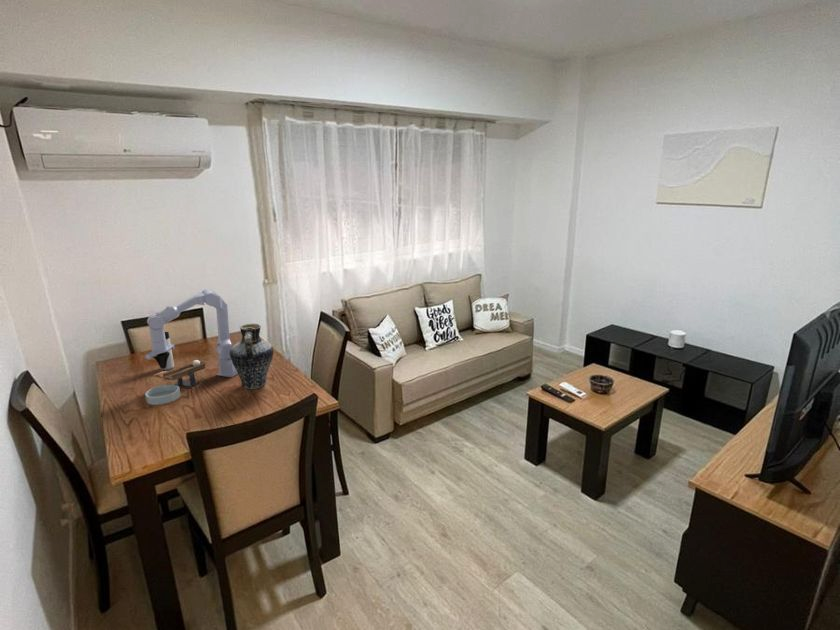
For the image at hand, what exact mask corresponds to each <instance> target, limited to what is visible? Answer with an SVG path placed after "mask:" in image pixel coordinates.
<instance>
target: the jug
mask: <svg viewBox="0 0 840 630" xmlns="http://www.w3.org/2000/svg"><path fill="white" fill-rule="evenodd" d="M261 327H262V326H261V325H260V324H258V323H247V324H243V325H241V326H239V331H240V333H241V340H240V341H239V342H237V343H235V344H234V345H233V346H232V348H231V349H230V357H231V360H232V363H233V365H234V367H235V369H236V370H237V372H238V374H237V375H238V376H239V380H240V382H241V386H242V388H244V389H247V390H256V389H259V388H262V387H263V386H265V385H266V382H267V375H268V372H269V369H270V365H271V364H272V361H273V358H274V357H273V356H274V347H273V345H272V343H270V342H268V341H266V340H263V339H261V336H260V333H261Z"/></svg>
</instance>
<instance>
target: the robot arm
mask: <svg viewBox="0 0 840 630" xmlns="http://www.w3.org/2000/svg"><path fill="white" fill-rule="evenodd" d="M205 304H206V305H207V306H209V307H213V308H215V309H216V321H217V322H216V323H217V324H216V325H217V334H218V339H217V345H216V349H215V350H216V352H217V353H218V357H217V359H218V366H219V372H218V373H216V376H220V377H221V376H222V377H226V378H233V377H236V376H237V375H238V372H237V370H236V369H235V367H234V365H233V363H232V360H231V357H230V349H231V348H232V347H233V346H232V345H233V344H232V342H231V338H230V325H229V312H228V311H229V310H228V304H227V302H225V300H224V299H223V298H222V296H220V295H219V294H218V293H216V292H214V291H213V290H211V289H206V288H205V289H204V290H201V291H199V292H197V293H196V294H194V295H193V296H191V297H189V298H187V299H185V300H184V301H183V302H181V303H179V304H178V305H176V306H175V305H168V306H166V307H165V309H162V310H161V311H159V312H158V311H156V313H155V314H151V315H149V316H148V318H147V320H146V323H147V325H148V326H149V335H150V341H151V345H152V346H151V348H152V349H151V351H150V352H148V353H146V354H145V359H146V360H152V358H153V359H154V360H155V361H156V363H157V364H158V366H159V368H160V369H161V368H163V369H164V368H166V365H167V359H168V357H169V355H170V353H169V352H167V351H168V350H170V349H172V350H174V349H176V347H175V344H172V343H171V344H170V345H167V344H166V338H165V332H166V331H165V330H164V325H165V324H167V323H169V322H171V321H172V320H174V319H176V318H178V317H180V315H181V313H182V312H185V311H187V310H188V309H190V308H192V307H194V306H196V305H197V306H205Z"/></svg>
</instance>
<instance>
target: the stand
mask: <svg viewBox="0 0 840 630" xmlns="http://www.w3.org/2000/svg"><path fill="white" fill-rule="evenodd" d="M176 380H177V382H175V383H173V385H177V386H178V387H179V388H180V387H181V388H188V389H193V388H194V387H197V386H198V385H200V381H196V377H195V372H193V371H192V372H190V373H189V380H188V379H183V377H181V378H179V379H176Z"/></svg>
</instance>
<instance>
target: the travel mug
mask: <svg viewBox="0 0 840 630" xmlns="http://www.w3.org/2000/svg"><path fill="white" fill-rule="evenodd" d="M164 332H165V338H166V344H167V345H170V344H172V343H171V338H170V332H169V331H164ZM172 350H173V349H170V350H168V351H167V352H169V353H170V355H169V357H168V359H167V365H166V368H164V369H163V368H160V370H161V371H163V370H165V371H166V370H167V371H172V370H174V369H175V363H174V356H173V351H172Z"/></svg>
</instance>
